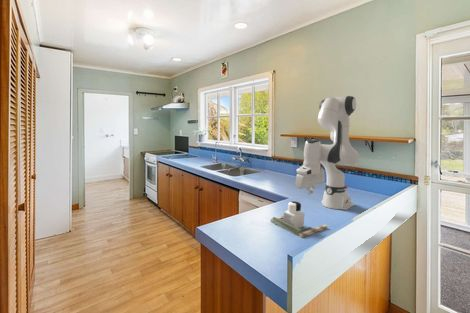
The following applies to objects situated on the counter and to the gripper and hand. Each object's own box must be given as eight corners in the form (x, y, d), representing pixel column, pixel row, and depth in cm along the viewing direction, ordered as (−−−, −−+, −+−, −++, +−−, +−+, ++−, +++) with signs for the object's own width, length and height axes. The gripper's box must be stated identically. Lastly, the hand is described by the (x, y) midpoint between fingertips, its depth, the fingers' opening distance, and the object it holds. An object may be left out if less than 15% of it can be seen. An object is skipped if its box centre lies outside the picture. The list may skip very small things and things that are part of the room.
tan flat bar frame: (295, 214, 146) (295, 210, 146) (327, 228, 128) (327, 222, 128) (270, 221, 135) (270, 216, 135) (301, 237, 117) (301, 231, 117)
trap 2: (309, 227, 129) (310, 226, 129) (314, 229, 126) (314, 228, 126) (297, 231, 123) (297, 231, 123) (301, 234, 121) (301, 233, 121)
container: (293, 221, 136) (294, 199, 134) (303, 226, 129) (305, 203, 128) (283, 224, 132) (284, 201, 130) (293, 230, 125) (295, 205, 123)
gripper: (318, 165, 140) (317, 188, 143) (294, 170, 129) (293, 195, 132) (328, 167, 135) (326, 191, 138) (303, 172, 124) (302, 198, 126)
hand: (310, 193), depth 134 cm, fingers closed
